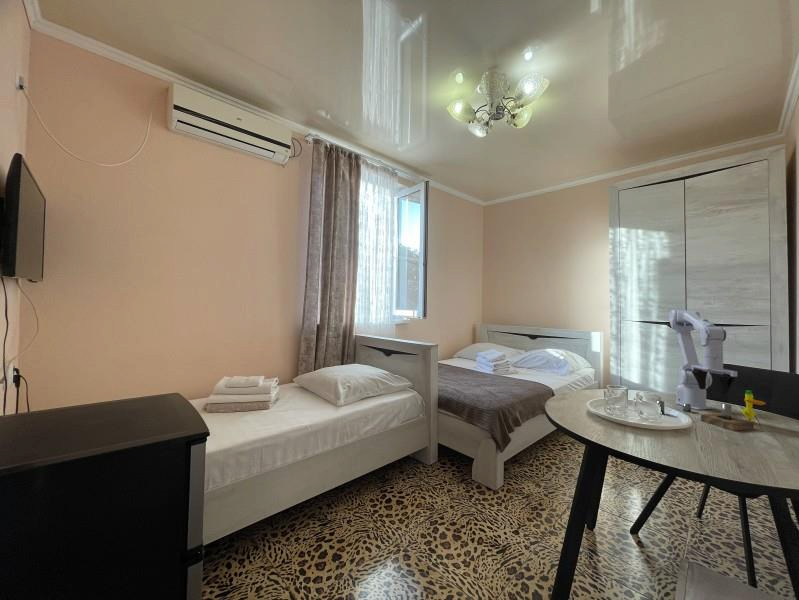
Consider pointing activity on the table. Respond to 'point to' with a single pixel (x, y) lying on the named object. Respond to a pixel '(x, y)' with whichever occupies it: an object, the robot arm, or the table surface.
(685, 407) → the short pin
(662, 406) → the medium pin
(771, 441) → the table surface
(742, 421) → the hole block
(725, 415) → the long pin
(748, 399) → the toy figure
